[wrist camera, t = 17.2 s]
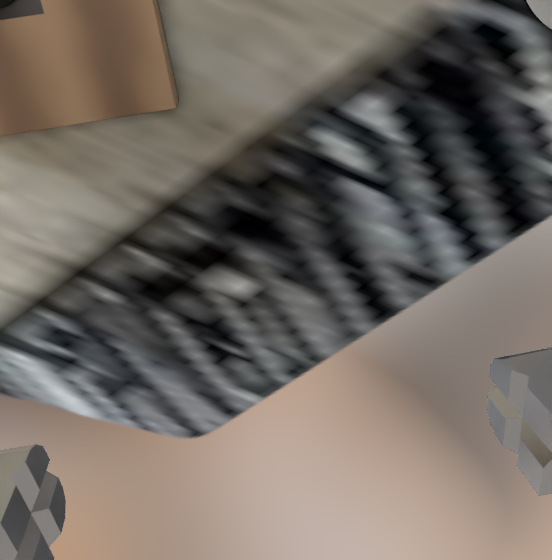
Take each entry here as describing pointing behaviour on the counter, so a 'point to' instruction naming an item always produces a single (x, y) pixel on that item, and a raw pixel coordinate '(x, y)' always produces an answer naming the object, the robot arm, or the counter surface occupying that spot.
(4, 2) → the beer can
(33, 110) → the socket board
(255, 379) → the counter surface
